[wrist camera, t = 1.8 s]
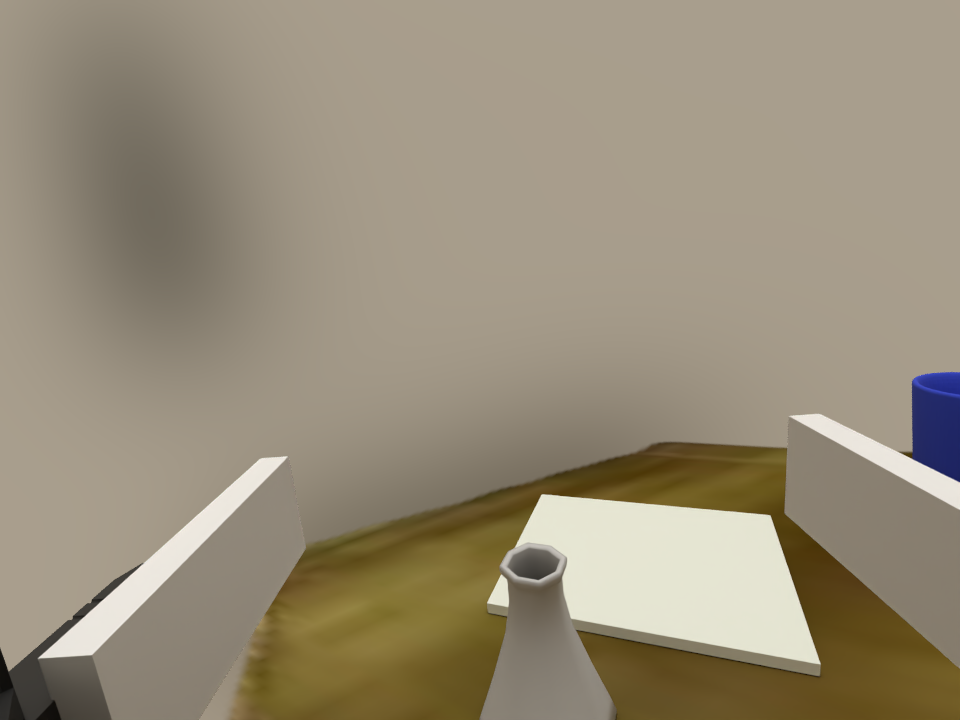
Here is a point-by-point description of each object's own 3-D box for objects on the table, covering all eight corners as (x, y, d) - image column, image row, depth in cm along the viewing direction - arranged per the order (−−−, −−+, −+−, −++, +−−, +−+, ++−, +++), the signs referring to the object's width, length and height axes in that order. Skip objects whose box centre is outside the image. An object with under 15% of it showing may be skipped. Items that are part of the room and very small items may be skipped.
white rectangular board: (770, 523, 42) (770, 515, 42) (819, 676, 28) (820, 664, 27) (542, 501, 50) (542, 494, 49) (487, 612, 35) (487, 603, 35)
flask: (531, 650, 32) (518, 509, 29) (640, 711, 27) (634, 547, 25) (453, 738, 26) (430, 574, 24) (571, 833, 22) (556, 639, 19)
